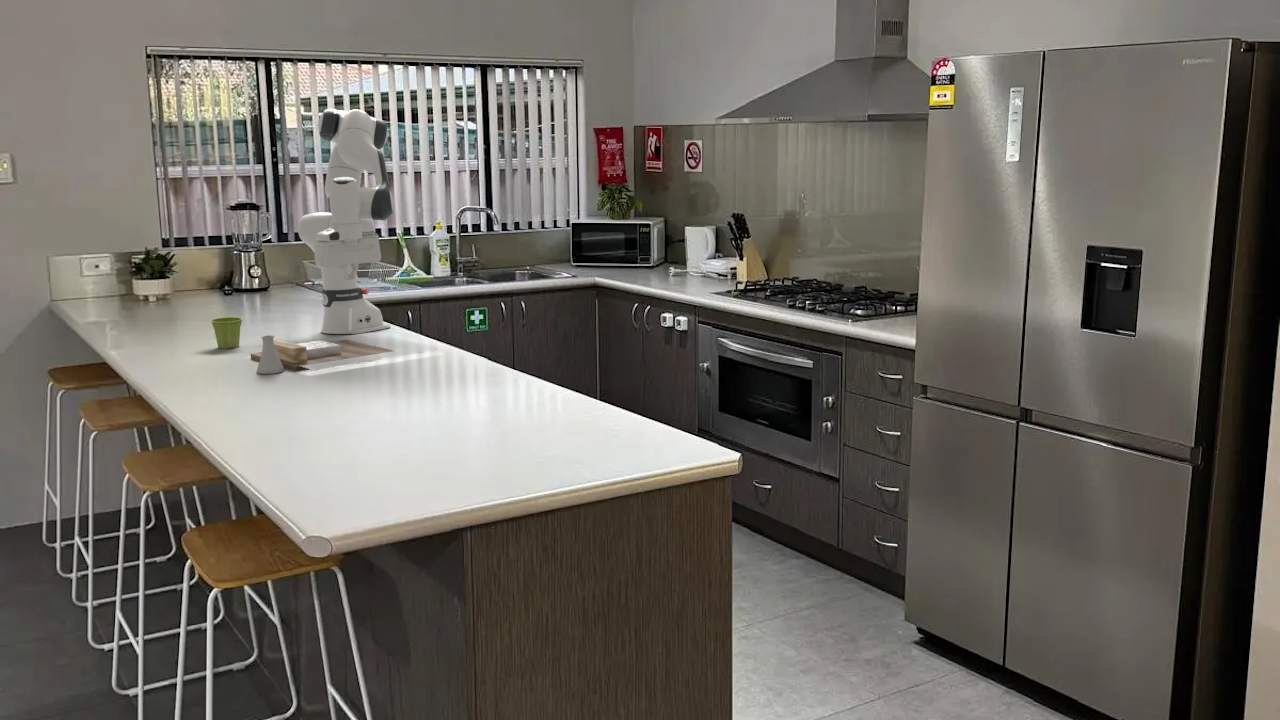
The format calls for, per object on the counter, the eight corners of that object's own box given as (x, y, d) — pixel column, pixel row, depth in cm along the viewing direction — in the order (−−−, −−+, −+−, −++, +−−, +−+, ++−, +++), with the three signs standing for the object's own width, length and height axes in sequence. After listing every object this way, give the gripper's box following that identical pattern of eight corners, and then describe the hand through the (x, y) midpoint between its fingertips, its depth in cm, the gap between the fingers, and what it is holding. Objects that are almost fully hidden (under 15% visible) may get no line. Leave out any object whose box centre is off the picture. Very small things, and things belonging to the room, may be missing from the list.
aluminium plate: (320, 348, 341) (320, 340, 340) (340, 353, 332) (340, 344, 332) (282, 354, 333) (281, 345, 332) (302, 359, 324) (301, 350, 324)
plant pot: (250, 344, 359) (247, 316, 357) (236, 350, 350) (234, 321, 348) (221, 344, 360) (218, 317, 358) (207, 350, 351) (204, 321, 349)
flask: (276, 375, 311) (273, 338, 309) (251, 374, 312) (248, 338, 310) (289, 369, 318) (286, 334, 316) (265, 369, 319) (262, 333, 317)
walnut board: (347, 344, 356) (346, 339, 355) (395, 355, 335) (394, 350, 335) (250, 358, 335) (250, 353, 335) (296, 371, 315) (295, 366, 314)
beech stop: (277, 352, 335) (276, 339, 334) (307, 360, 322) (306, 346, 321) (264, 354, 332) (263, 341, 332) (294, 362, 319) (292, 348, 319)
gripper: (372, 230, 349) (375, 275, 352) (310, 234, 335) (313, 282, 338) (383, 231, 344) (386, 277, 347) (320, 235, 331) (324, 283, 333)
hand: (350, 279), depth 342 cm, fingers closed
